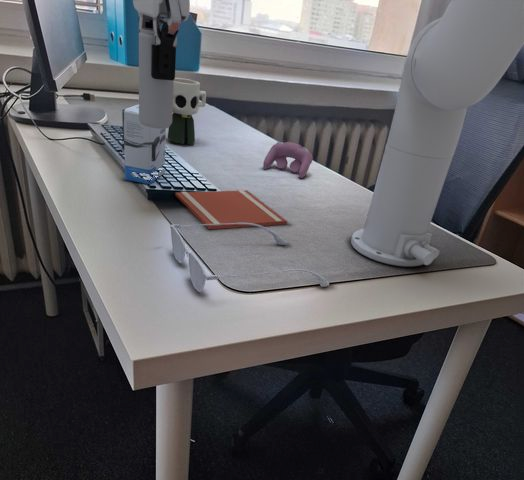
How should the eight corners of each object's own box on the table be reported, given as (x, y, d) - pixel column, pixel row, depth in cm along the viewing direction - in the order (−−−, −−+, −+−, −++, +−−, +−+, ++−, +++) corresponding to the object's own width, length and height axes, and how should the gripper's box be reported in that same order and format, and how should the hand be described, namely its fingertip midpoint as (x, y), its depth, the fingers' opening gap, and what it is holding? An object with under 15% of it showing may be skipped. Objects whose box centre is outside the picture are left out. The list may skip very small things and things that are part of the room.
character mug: (163, 146, 114) (165, 82, 107) (153, 137, 119) (154, 75, 112) (208, 147, 119) (213, 85, 112) (197, 139, 124) (201, 79, 117)
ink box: (149, 185, 92) (150, 114, 85) (123, 180, 92) (122, 109, 85) (166, 173, 99) (168, 107, 92) (141, 168, 99) (141, 102, 92)
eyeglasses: (167, 247, 71) (168, 220, 69) (282, 242, 78) (286, 217, 76) (203, 303, 60) (205, 272, 58) (332, 290, 67) (339, 262, 65)
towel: (286, 224, 85) (287, 220, 85) (208, 229, 79) (209, 225, 78) (246, 193, 95) (247, 189, 95) (175, 195, 89) (175, 191, 89)
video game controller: (307, 183, 111) (317, 151, 110) (302, 177, 107) (313, 144, 106) (266, 172, 114) (276, 140, 113) (260, 166, 110) (270, 133, 109)
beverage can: (132, 121, 75) (132, 26, 69) (161, 120, 78) (163, 29, 72) (149, 129, 73) (150, 31, 66) (178, 129, 76) (182, 34, 69)
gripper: (216, -89, 57) (204, 89, 68) (166, -85, 69) (162, 67, 79) (151, -105, 54) (149, 85, 64) (110, -97, 66) (113, 63, 76)
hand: (156, 73), depth 72 cm, fingers closed on beverage can, 4 cm apart
